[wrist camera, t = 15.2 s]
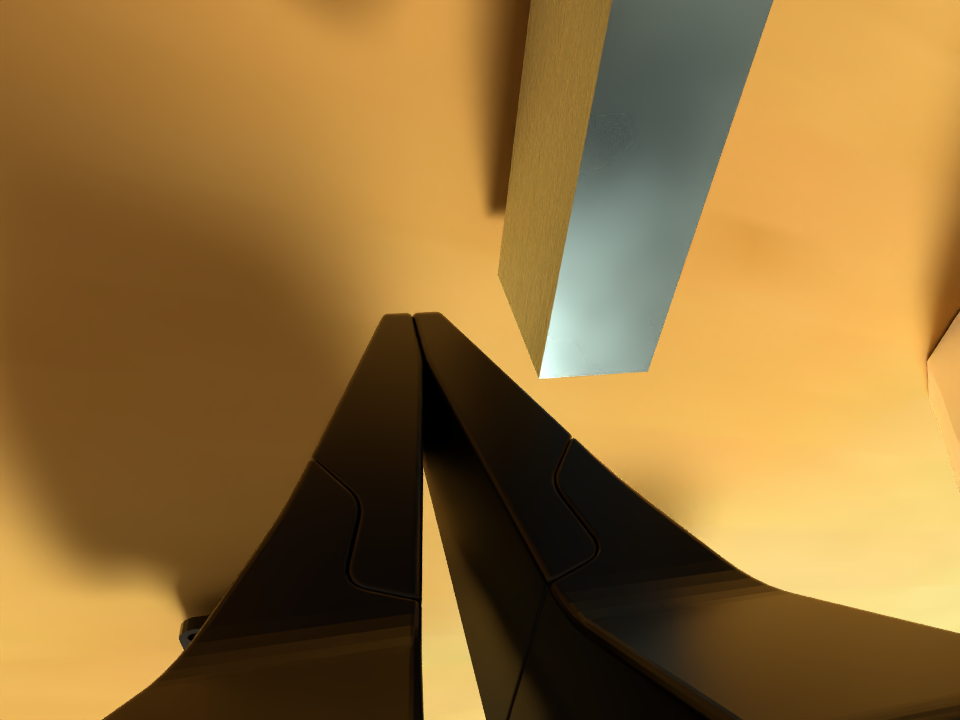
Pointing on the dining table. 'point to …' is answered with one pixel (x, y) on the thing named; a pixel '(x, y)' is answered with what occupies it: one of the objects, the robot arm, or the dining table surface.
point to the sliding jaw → (615, 168)
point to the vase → (947, 392)
